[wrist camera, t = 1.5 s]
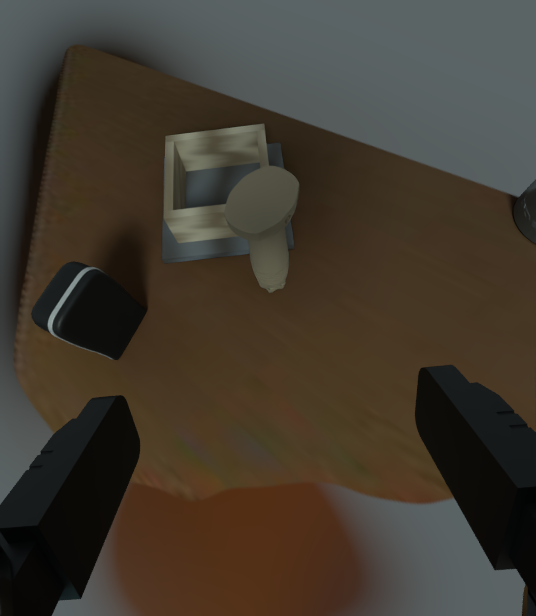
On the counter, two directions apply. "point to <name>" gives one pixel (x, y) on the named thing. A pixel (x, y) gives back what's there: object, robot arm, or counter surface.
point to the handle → (264, 220)
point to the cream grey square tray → (209, 189)
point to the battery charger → (88, 310)
